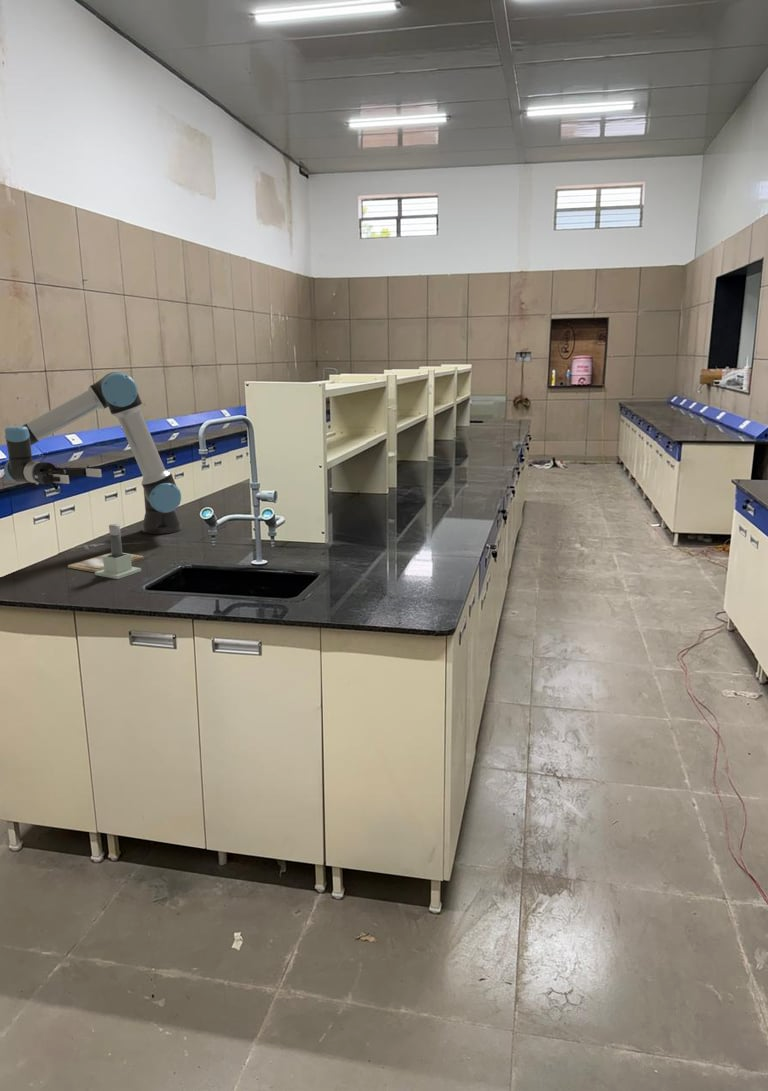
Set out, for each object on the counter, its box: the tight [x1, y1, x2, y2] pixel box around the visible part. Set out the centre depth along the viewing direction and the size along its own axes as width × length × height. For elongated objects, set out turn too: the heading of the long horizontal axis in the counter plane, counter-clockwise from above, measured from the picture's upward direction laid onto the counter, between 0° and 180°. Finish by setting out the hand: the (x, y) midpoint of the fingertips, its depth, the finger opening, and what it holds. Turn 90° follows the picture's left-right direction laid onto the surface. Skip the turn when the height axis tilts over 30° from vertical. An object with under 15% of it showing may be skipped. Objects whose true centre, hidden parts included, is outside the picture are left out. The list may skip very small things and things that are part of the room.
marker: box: [108, 523, 123, 558], centre depth 236 cm, size 3×3×15 cm
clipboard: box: [67, 551, 144, 573], centre depth 250 cm, size 20×14×2 cm
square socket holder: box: [94, 552, 142, 580], centre depth 238 cm, size 10×10×6 cm
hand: (84, 476), depth 247 cm, fingers open, 13 cm apart
